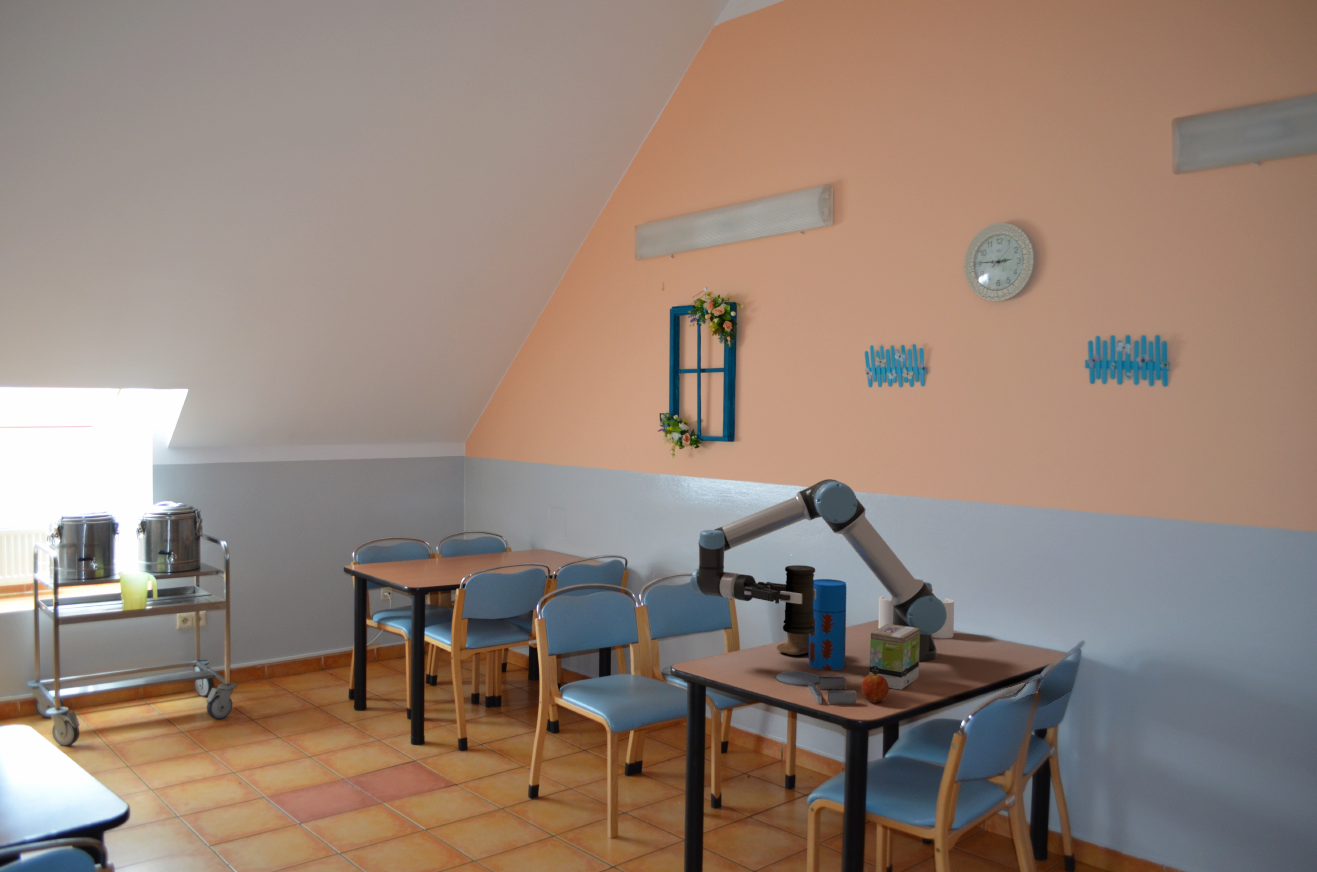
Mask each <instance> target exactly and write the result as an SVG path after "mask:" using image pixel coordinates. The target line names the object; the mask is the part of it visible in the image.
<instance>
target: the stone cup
mask: <svg viewBox="0 0 1317 872" xmlns="http://www.w3.org/2000/svg"><path fill="white" fill-rule="evenodd" d="M786 634H787V641H786V642H783V643H780V644H778V645H776V646H775V647H776V650H777V651H779V652H780V653H783V654H787V655H792V656H799V655H804V654H809V634H793V633H788V632H786Z"/></svg>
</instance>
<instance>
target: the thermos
mask: <svg viewBox="0 0 1317 872" xmlns="http://www.w3.org/2000/svg"><path fill="white" fill-rule="evenodd" d="M813 582H814V589H816V599H813V611H814V616H813V620H814V622H815V624H814V627H815V631H814V632H813V633H810V634H809V652H808V664H809V667H811V668H814V669H816V670H820V669H821V670H822V671H839V670H843V669H844V668H845V661H846V639H847V638H846V636H847V635H846V634H847V633H846V632H847V627H846V625H847V622H846V621H847V582H845V581H843V580H838V579H830V578H827V579H826V578H825V579H824V578H821V579H820V578H819V579H813ZM842 668H843V669H842ZM838 669H839V670H838Z"/></svg>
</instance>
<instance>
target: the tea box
mask: <svg viewBox="0 0 1317 872" xmlns="http://www.w3.org/2000/svg"><path fill="white" fill-rule="evenodd" d="M869 641H870V645H869V646H870V647H869V667H868V668H869V669H868V675H872V674H876V671H877V674H876V675H880V676H883V677H884V678H885V679H886V681H887V683H888V686H889V689H894V690H903V689H904V688H905V687H907V686H909V685H910V684H912V683H913V682H914V681H916V680H917V679H918V678H919V671H920V669H919V668H920V661H919V650H920V628H914V627H907V626H900V625H893V624H887V625H885V626H883V627H881V628H879V629H875V630H873V631H872V632H870V640H869Z"/></svg>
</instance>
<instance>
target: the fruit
mask: <svg viewBox="0 0 1317 872" xmlns="http://www.w3.org/2000/svg"><path fill="white" fill-rule="evenodd" d="M876 674H877V671H876ZM876 674H872V675H869V674H868V675H867V676H865V677H863V680H862V682H861V691H862V694H863V696H864V697H865V698H866V699H867V700H869V701H871V702H872V703H880V702H881V701H884V699H886V698H887V697H888V694H889V692H890V691H889V690H890V688H889V686H888V683H887V681H886V679H885V678H884V677H883V676H880V675H876Z"/></svg>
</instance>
